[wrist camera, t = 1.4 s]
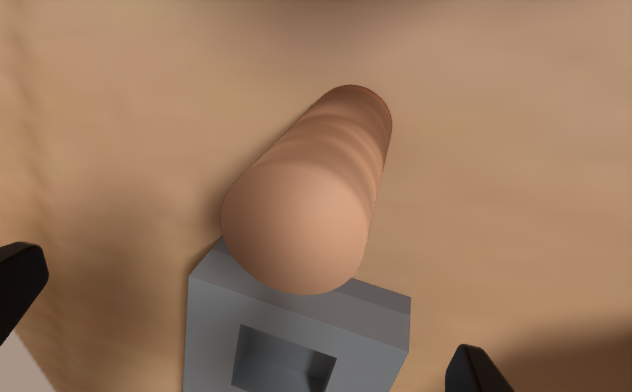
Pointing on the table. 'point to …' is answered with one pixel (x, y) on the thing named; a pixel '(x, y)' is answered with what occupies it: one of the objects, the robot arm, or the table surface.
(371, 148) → the pin
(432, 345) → the table surface
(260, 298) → the hole board
